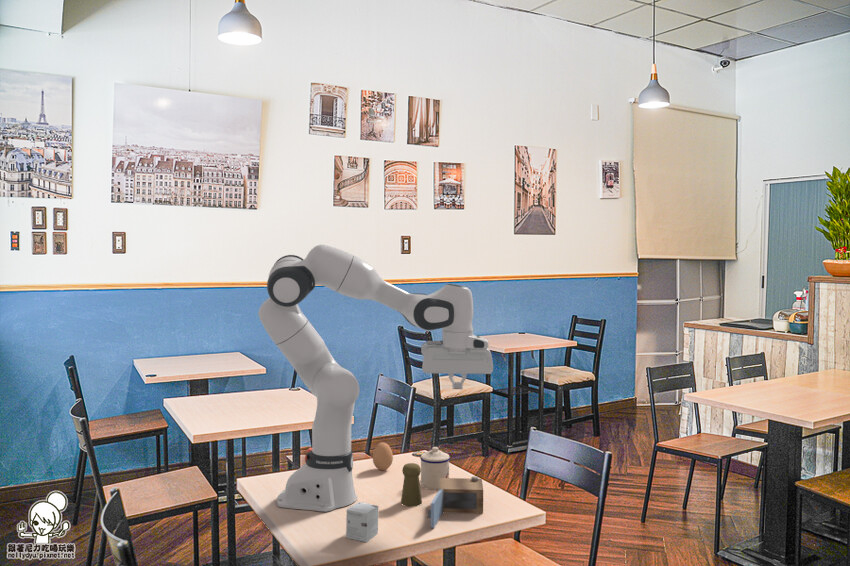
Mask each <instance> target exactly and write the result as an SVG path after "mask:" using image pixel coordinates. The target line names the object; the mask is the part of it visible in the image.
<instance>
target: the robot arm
mask: <svg viewBox="0 0 850 566" xmlns="http://www.w3.org/2000/svg"><path fill="white" fill-rule="evenodd" d="M316 286H322V287H325V288H327V289H330V290H331V291H333V292H336V293H339V294H340V295H341V296H345V297H348V298H351V299H352V298H353V299H356V300H368V301H369V300H370V301H373V302H374V301H375V302H377V303H378V304H379V303H380V304H382V305H383V306H386V307H388V308H390V309H393V310H395V311H396V312H398V313H399V314H401V315H402V316H403V318H404V319H405V320H406V321H407V322H408V324H409V325H412V326H413V327H415V328H419V329H421V330H422V331H423V330H424V331H427V332H428V331H430V332H431V331H436V330H439V329H441V330H442V335H441V337H442V340H426V341H425V342H423V343H422V344H421V348H420V349H421V351H420V352H421V355H422V356H423V358H422V365H421V366H422V367H421V368H422V369H421V370H422V372H423V373H424V374H448V379H449V380H450V382H451V384H452V387H451V388H452V390H464V388H463V385H464V383H465V381H466V379H467V376H468V375H473V374H474V375H476V374H477V375H491V374H492V373H493V372H494V363H493V362H494V361H493V357H492V356H493V355H492V353H491V350H490V349H489V345H490V341H489V340H488V339H487V338H485V337H482V336H480V335H475V334H474V326H473V318H474V299H473V293H472V290H471V289H470V288H469V287H467V286H464V285H460V284H453V283H447V284H445V285H444V286H443V287H441V288H440V289H439V290H435V291H434V292H432V293H430V294H426V293H419V292H418V293H414V292H413V293H411V292H408V291H405V290H404V289H402V288H399V287H398V286H395V285H393V284H391V283H389V282H388V281H386V280H384V279H383V278H382V277H381V276H380V275H379V274H378V273H377V270H376V269H375V268H374V267H373V266H371V265H370V264H369V263H368V262H366V261H364V260H363V259H362V258H360V257H358V256H355V255H353V253H352V254H351V253H349V252H347V251H344V250H342V249H339V248H336V247H332V246H329V245H325V244H318V245H316V246H314V247H313V248H311V250H309V252H308V253H307V255H306V257H305V258H304V259H303V258H302V257H300V256H298V255H295V254H287V255H284V256H281V257H280V258H278V259H277V260H276V261H275V263H274V264H273V265H272V267H271V269H270V271H269V273H268V279H267V283H266V290H267V294H268V296H269V297H268V298H267V299H266V300H264V301H263V302H262V303H261V305H260V307H259V309H258V317H259V320H260V322H261V325H263V328H264V330H265V331H266V333H267V334H268V336H269V338H270V339H271V341H272V342H273V343H274V344H275V345H276V347H277V348H278V349H279V351H280V353H282V354H283V356H284V357H285V358H286V359H287V361H288V362H289V364H291V366H292V368H293V370H295V372H296V374H297V375H298V376H299V378H300V379H301V381H302V382H303V384H304V385H305V386H306V388H307V390H309V392H310V393H311V394H312V395H313V397H316V411H315V417H314V420H313V422H312V425H311V426H312V427H311V429H312V430H311V432H312V433H311V436H312V437H311V439H312V440H311V441H312V442H311V444H312V445H311V446H312V447H308V449H307V450H306V452H305V456H304V462H305V464H303V465H302V466H301V467H299V468H298V469H297V470H295V471H294V472H292V474H290V476H289V477H288V479H287V481H286V484H285V488H284V490H282V491H281V492H280V493H279V495H278V496H277V499H276V504H277V506H278V507H279V508H283V509H284V508H286V509H295V510H297V509H298V510H303V511H315V512H316V511H317V512H325V513H328V512H331V511H333V510H336V509H339V508H344V507H347V506H349V505H351V504H353V503H354V502H356V501H357V497H358V496H357V494H356V489H355V485H354V478H353V469H354V454H353V449H352V423H353V417H354V416H353V415H354V410H355V406H356V405H355V404H356V401H357V400H358V398H359V395H360V384H359V382H358V380H357V378H356V376H355V375H354V374H353V372H351V371H350V370H348V369H346V368H344V367H343V366H341V365H340V364H339V363H338V362H337V361H336V360H335V358H334V356H332V353H331V352H330V350H329V348H328V347H327V345H326V343H325V341H324V339H323V338H322V337H321V335H320V334H319V333H318V332H317V330H316V329H315V328H314V326H313V325H312V323H311V322H310V321H309V319H308V318H307V317H306V315H304V312H302V310H301V308H300V306H299V303H301V302H302V301H303V300H304V299H306V298H307V297H308V295H309V294H310V293H311V292H313V290H314V289H315V288H316ZM454 374H455V375H460V374H461V378H462V379H461V380H460V381H455V380H454Z"/></svg>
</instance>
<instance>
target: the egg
mask: <svg viewBox="0 0 850 566" xmlns="http://www.w3.org/2000/svg"><path fill="white" fill-rule="evenodd" d="M393 454H394V453H393V451H392V449H391V447H390V445H389V444H388V443H386V442H382V441H381V442H379V443H378V444H376V446H375V447H374V450H373V453H372V463H373V465H374V466H375V468H376V469H377V470H379V471H381V472H382V471H383V472H384V471H387V470H388V469H389V468H390V467H391V466H392V464H393V461H394V460H393V459H394V455H393Z"/></svg>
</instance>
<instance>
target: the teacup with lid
mask: <svg viewBox="0 0 850 566" xmlns="http://www.w3.org/2000/svg"><path fill="white" fill-rule="evenodd" d="M419 458H420V468H421V472H420V487H422V486H423V487H422V488H424V489H426V488H427V490H431V489H439V485H440V478H450V459H451V456H450V455H449V454H448V453H446V452H444V451H442V450H440V449H439V447H438V446H433V447H432V448H431V450H430V449H429V450H428V451H427V452H424V453H422V454H421V455H420V457H419Z"/></svg>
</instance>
